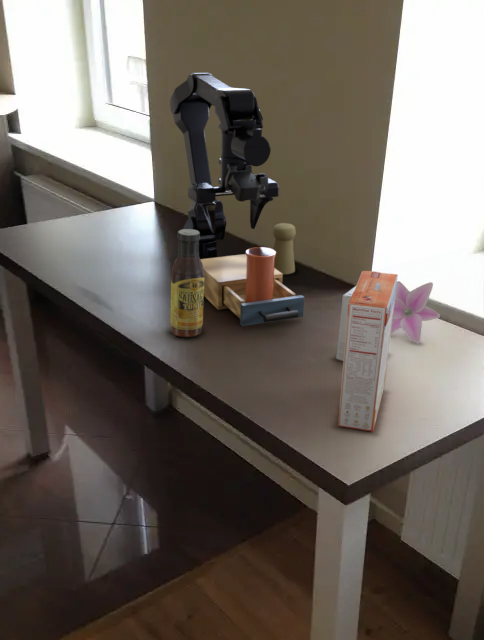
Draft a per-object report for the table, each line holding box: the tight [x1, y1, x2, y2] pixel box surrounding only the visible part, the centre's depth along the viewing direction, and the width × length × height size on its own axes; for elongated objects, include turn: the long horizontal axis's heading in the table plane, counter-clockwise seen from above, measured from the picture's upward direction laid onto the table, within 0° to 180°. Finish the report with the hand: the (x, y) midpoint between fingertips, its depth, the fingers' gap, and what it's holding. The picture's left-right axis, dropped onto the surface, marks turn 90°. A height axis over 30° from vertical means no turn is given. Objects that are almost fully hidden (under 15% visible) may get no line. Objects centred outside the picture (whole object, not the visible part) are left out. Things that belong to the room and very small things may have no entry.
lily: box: [391, 280, 441, 345], centre depth 145 cm, size 12×12×10 cm
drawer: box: [222, 279, 305, 327], centre depth 150 cm, size 17×13×4 cm
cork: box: [272, 222, 297, 275], centre depth 173 cm, size 6×6×11 cm
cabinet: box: [200, 253, 284, 311], centre depth 161 cm, size 15×15×6 cm
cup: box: [245, 246, 276, 303], centre depth 149 cm, size 6×6×11 cm
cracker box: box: [337, 270, 399, 432], centre depth 114 cm, size 14×6×21 cm, turn 163°
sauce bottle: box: [169, 228, 205, 338], centre depth 139 cm, size 7×6×20 cm
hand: (233, 230), depth 159 cm, fingers open, 9 cm apart
